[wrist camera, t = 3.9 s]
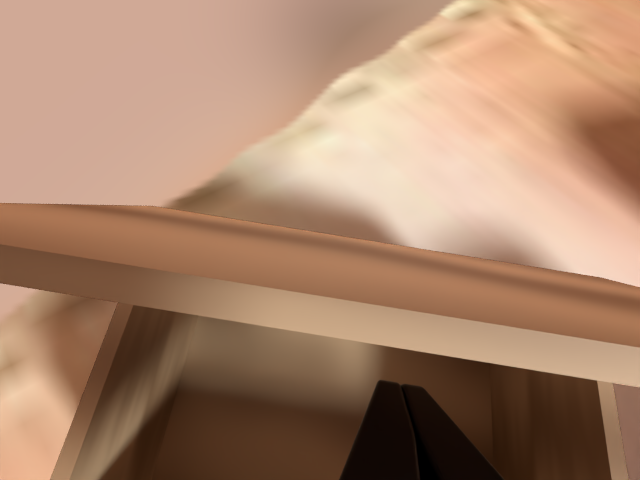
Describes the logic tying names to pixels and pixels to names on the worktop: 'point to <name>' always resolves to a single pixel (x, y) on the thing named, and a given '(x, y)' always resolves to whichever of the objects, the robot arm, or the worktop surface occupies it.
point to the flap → (327, 286)
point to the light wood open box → (310, 405)
